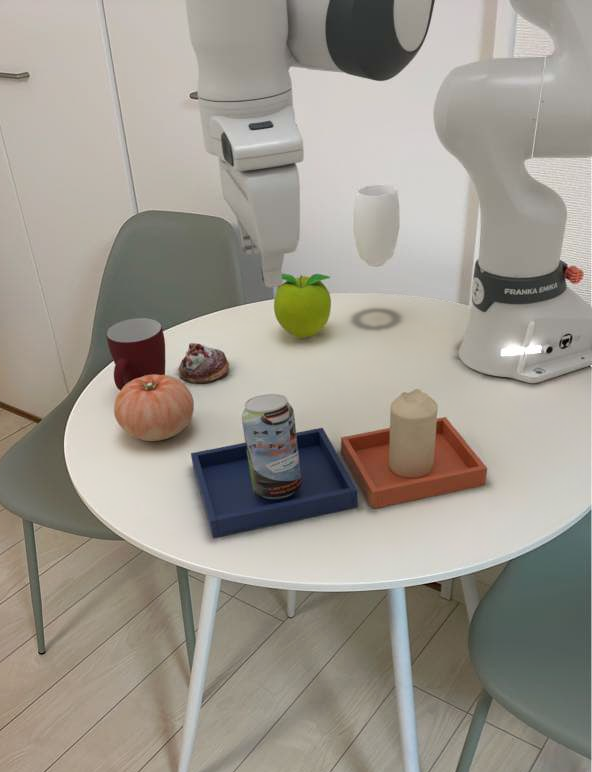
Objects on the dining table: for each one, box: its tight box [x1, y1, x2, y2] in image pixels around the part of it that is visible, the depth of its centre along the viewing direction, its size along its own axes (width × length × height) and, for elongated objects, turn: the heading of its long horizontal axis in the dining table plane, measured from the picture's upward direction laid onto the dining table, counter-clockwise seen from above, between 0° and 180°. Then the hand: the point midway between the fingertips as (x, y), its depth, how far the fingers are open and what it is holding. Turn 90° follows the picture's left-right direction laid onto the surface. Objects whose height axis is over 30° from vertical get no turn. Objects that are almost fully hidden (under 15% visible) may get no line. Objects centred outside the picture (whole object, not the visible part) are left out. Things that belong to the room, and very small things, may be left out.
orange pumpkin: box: [113, 374, 195, 442], centre depth 103 cm, size 11×11×8 cm
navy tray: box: [190, 427, 359, 539], centre depth 93 cm, size 18×15×2 cm
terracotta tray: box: [340, 416, 488, 510], centre depth 94 cm, size 14×12×2 cm
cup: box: [353, 183, 401, 268], centre depth 122 cm, size 7×7×21 cm
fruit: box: [273, 273, 332, 339], centre depth 122 cm, size 9×9×10 cm
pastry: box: [177, 342, 230, 384], centre depth 116 cm, size 8×8×5 cm
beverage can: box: [241, 393, 302, 499], centre depth 89 cm, size 6×7×12 cm
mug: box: [105, 317, 166, 392], centre depth 110 cm, size 10×8×10 cm
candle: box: [389, 388, 439, 478], centre depth 91 cm, size 6×6×10 cm
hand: (261, 267), depth 81 cm, fingers open, 8 cm apart
